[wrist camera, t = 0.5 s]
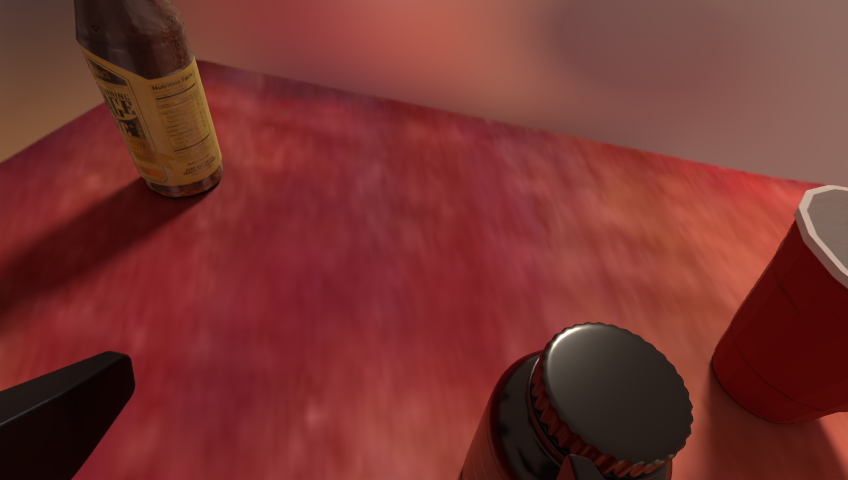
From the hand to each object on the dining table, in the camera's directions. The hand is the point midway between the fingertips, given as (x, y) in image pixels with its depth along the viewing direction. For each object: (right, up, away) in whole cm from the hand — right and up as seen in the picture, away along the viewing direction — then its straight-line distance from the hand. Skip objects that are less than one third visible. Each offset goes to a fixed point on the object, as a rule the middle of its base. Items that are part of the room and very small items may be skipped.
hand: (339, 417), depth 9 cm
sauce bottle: (-18, +9, +28) cm, 34 cm away
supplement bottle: (+7, -9, +14) cm, 18 cm away
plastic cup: (+23, -6, +19) cm, 31 cm away
